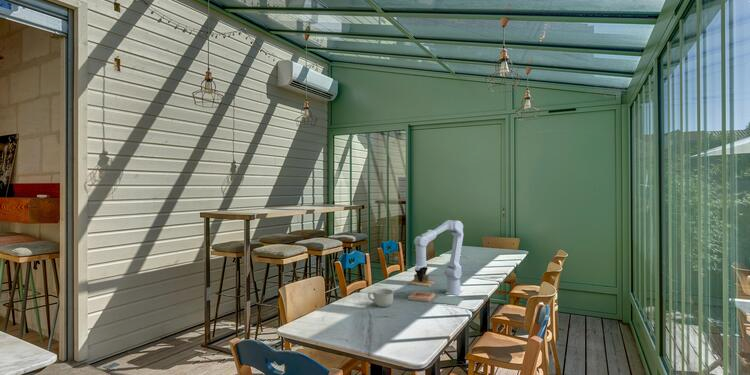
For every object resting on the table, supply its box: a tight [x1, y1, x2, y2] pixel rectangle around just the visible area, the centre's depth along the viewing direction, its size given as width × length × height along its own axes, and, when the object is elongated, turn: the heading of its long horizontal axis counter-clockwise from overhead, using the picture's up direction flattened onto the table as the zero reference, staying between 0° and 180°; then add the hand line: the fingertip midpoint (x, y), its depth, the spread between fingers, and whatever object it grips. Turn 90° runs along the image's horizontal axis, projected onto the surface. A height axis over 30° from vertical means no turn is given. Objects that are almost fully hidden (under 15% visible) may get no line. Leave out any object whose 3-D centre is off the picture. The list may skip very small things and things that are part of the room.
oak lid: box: [406, 273, 437, 288], centre depth 227 cm, size 13×13×5 cm
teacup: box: [367, 288, 394, 308], centre depth 214 cm, size 14×11×8 cm
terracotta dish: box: [407, 291, 436, 303], centre depth 227 cm, size 12×12×2 cm
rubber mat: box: [432, 295, 464, 307], centre depth 220 cm, size 14×14×1 cm
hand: (421, 280), depth 227 cm, fingers closed on oak lid, 3 cm apart
